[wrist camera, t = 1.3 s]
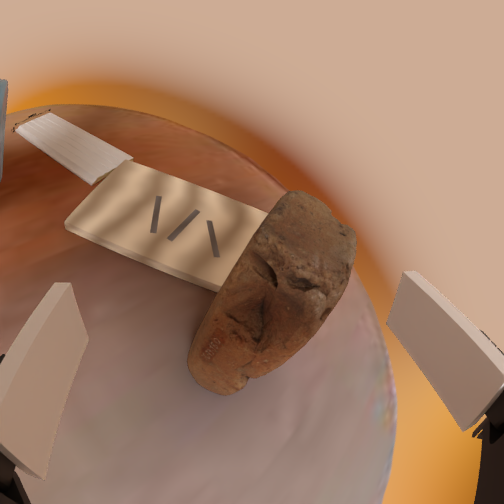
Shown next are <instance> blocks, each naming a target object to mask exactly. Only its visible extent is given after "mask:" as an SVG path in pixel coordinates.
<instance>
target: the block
mask: <svg viewBox="0 0 504 504" xmlns="http://www.w3.org/2000/svg"><path fill="white" fill-rule="evenodd" d="M356 244H357V241H356V234H355V231H354V230H353V229H352V228H351V227H349V226H348V225H343V224H341V223H340V222H339V221H338V220H337V219H336V218H334V217H333V216H332V215H331V210H330V209H329V208H328V207H327V206H326V205H325V204H324V203H323V202H321V201H320V200H318V199H317V198H315V197H313V196H311V195H309V194H307V193H305V192H303V191H289V192H287V193H286V194H285V195H284V196H282V197H281V198H280V200H279V201H278V202H277V203H276V205H275V206H274V208H273V209H272V210H271V211H270V212H269V214H268V215H267V216H266V217H265V219H264V220H263V222H262V223H261V224H260V226H259V228H258V229H257V230H256V232H255V233H254V234H253V236H252V238H251V239H250V241H249V243H248V244H247V246H246V248H245V249H244V251H243V252H242V254H241V256H240V257H239V259H238V261H237V262H236V264H235V265H234V267H233V268H232V270H231V272H230V273H229V275H228V277H227V278H226V280H225V282H224V283H223V285H222V286H221V288H220V290H219V292H218V293H217V295H216V297H215V299H214V301H213V302H212V304H211V306H210V308H209V310H208V312H207V314H206V315H205V317H204V319H203V321H202V323H201V325H200V327H199V329H198V331H197V333H196V336H195V338H194V340H193V342H192V345H191V347H190V350H189V353H188V359H187V363H188V368H189V370H190V372H191V374H192V376H193V378H194V379H195V380H196V382H197V383H198V384H200V385H201V386H203V387H204V388H206V389H207V390H209V391H212V392H214V393H217V394H220V395H225V396H226V395H231V394H233V393H235V392H237V391H239V390H240V389H243V387H244V386H245V385H246V383H247V381H248V379H249V377H251V378H258V377H260V376H263V375H266V374H267V373H269V372H271V371H272V370H274V369H276V368H278V367H279V366H281V365H282V364H284V363H285V362H286V361H287V360H288V359H289V358H291V357H292V356H293V355H294V354H295V353H296V352H298V351H299V350H300V349H301V348H302V347H303V346H305V345H306V343H307V342H308V341H309V340H310V339H311V338H312V337H313V336H314V335H315V334H316V332H317V331H318V330H319V328H320V327H321V326H322V324H323V323H324V321H325V320H326V318H327V316H328V315H329V314H330V313H331V311H332V310H333V309H334V307H335V306H336V304H337V303H338V301H339V300H340V298H341V296H342V295H343V293H344V291H345V289H346V286H347V284H348V281H349V277H350V274H351V269H352V266H353V264H354V259H355V256H356Z"/></svg>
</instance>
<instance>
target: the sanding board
mask: <svg viewBox="0 0 504 504" xmlns="http://www.w3.org/2000/svg"><path fill="white" fill-rule="evenodd" d="M267 215H268V213H266V212H263V211H261V210H259V209H256V208H254V207H251V206H249V205H246V204H244V203H241V202H239V201H236V200H234V199H231V198H229V197H226V196H224V195H221V194H219V193H216V192H213V191H211V190H208V189H206V188H203V187H200V186H198V185H195V184H193V183H190V182H187V181H185V180H182V179H179V178H177V177H174V176H171V175H168V174H166V173H163V172H160V171H157V170H155V169H152V168H149V167H146V166H143V165H141V164H138V163H135V162H132V161H129V160H126V159H125V160H124V161H123V162H122V163H121V164H120V165H119V166H118V167H116V168H115V169H114V170H113V171H112V172H111V173H110V174H109V175H108V176H107V177H106V178H105V179H104V180H103V181H102V182H101V183H100V184H99V185H98V186H97V187H96V188H95V189H94V190H93V191H92V192H91V193H90V194H89V195H88V196H87V197H86V198H85V199H84V200H83V201H82V203H81V204H80V205H79V206H78V207H77V208H76V209H75V210H74V211H73V212H72V213H71V215H70V216H69V217H68V218H67V219H66V220H65V221H64V222H65V229H66V230H68V231H70V232H72V233H75V234H77V235H79V236H81V237H83V238H86V239H88V240H90V241H92V242H94V243H97V244H99V245H101V246H103V247H106V248H108V249H110V250H113V251H115V252H117V253H120V254H122V255H124V256H127V257H129V258H131V259H134V260H136V261H138V262H141V263H143V264H146V265H148V266H150V267H153V268H155V269H158V270H160V271H163V272H165V273H168V274H170V275H173V276H175V277H178V278H180V279H183V280H185V281H188V282H191V283H193V284H196V285H198V286H201V287H204V288H206V289H209V290H211V291H214V292H217V293H218V292H219V290H220V288H221V286H222V285H223V283H224V282H225V280H226V278H227V277H228V275H229V273H230V272H231V270H232V268H233V267H234V265H235V264H236V262H237V261H238V259H239V257H240V256H241V254H242V252H243V251H244V249H245V248H246V246H247V244H248V243H249V241H250V239H251V238H252V236H253V234H254V233H255V232H256V230H257V229H258V228H259V226H260V224H261V223H262V222H263V220H264V219H265V217H266V216H267Z"/></svg>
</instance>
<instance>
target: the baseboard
mask: <svg viewBox="0 0 504 504" xmlns="http://www.w3.org/2000/svg"><path fill="white" fill-rule="evenodd" d="M48 111H50V110H48ZM43 113H44V112H43ZM35 115H36V113H35ZM38 115H39V114H38ZM32 116H33V117H34V115H31V116H29V118H30V117H31V118H32ZM26 120H27V119H26ZM24 121H25V120H24ZM15 125H16V124H15ZM13 130H14V128H13ZM14 131H16V132H17V133H18V134H20V135H21V136H22V137H24V138H25V139H26V140H28V141H29V142H30V143H32V144H33V145H35V146H36V147H37V148H39V149H40V150H42V151H43V152H44V153H46V154H47V155H48V156H50V157H51V158H53V159H54V160H55V161H57V162H58V163H60V164H61V165H63V166H64V167H65V168H67V169H68V170H70V171H71V172H73V173H74V174H75V175H77V176H78V177H80V178H81V179H83V180H84V181H86V182H87V183H88V184H90V185H91V186H92V185H94V184H95V183H97V182H98V181H100V180H102V179H103V178H105V177H107V176H108V175H109V174H110V173H111V172H112V171H113V170H114V169H115V168H116V167H118V166H119V165H120V164H121V163H122V162H123V161H124V160H125V159H126V160H129V161H132V162H133V159H134V158H133V157H131V156H130V155H128V154H126V153H124V152H122V151H121V150H119V149H117V148H115V147H113V146H112V145H110V144H108V143H106V142H104V141H103V140H101V139H99V138H97V137H95V136H93V135H92V134H90V133H88V132H86V131H84V130H82V129H80V128H79V127H77V126H75V125H73V124H71V123H69V122H67V121H65V120H64V119H62V118H60V117H58V116H56V115H54V114H52V113H48V114H45V115H43V116H41V117H39V118H36V119H34V120H31V121H30V122H27V123H25V124H23V125H20V126H19V128H18V129H17V130H14ZM14 131H13V132H14Z"/></svg>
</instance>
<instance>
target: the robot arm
mask: <svg viewBox="0 0 504 504" xmlns="http://www.w3.org/2000/svg"><path fill="white" fill-rule="evenodd" d="M7 97H8V81H7V80H1V79H0V182H1V179H2V170H3V153H4V135H5V121H6V109H7ZM386 324H387V325H388V327H389V328H390V329H391V330H392V332H393V333H394V334H395V336H396V337H397V338H398V340H399V341H400V342H401V344H402V345H403V346H404V348H405V349H406V350H407V352H408V353H409V355H410V356H411V357H412V359H413V360H414V361H415V363H416V364H417V365H418V367H419V368H420V370H421V371H422V372H423V374H424V375H425V377H426V378H427V379H428V381H429V382H430V384H431V385H432V387H433V388H434V389H435V391H436V392H437V394H438V395H439V397H440V398H441V400H442V401H443V403H444V404H445V405H446V407H447V409H448V410H449V412H450V413H451V415H452V416H453V418H454V419H455V421H456V422H457V424H458V425H459V427H460V428H461V430H462V431H465V430H467V429H469V428H470V427H472V426H473V425H475V424H476V423H477V422H478V421H479V419H480V418H481V417H482V416H483V415H484V414H486V416H487V418H486V419H485V420H484V421H483V422H482V423H481V424H480V425H479V426H478V427H477V428H476V430H475V431H474V432H473V434H472V437H475V436H476V435H477V434H478V433H479V432H480V431H481V430H482V429H483V431H482V432H481V433H480V434H479V435H478V437H477V438H479V439H482V451H481V461H480V470H479V478H478V485H477V491H476V496H475V501H474V504H504V354H503V353H502V351H501V350H500V349H499V348H496V345H495V344H494V343H493V342H492V341H490V339H489V338H488V337H487V336H486V334H484V332H483V331H481V330H479V329H478V328H477V327H476V326H475V325H474V324H473V323H472V322H471V321H470V320H469V319H468V318H467V317H466V316H465V315H464V314H463V313H462V312H461V311H460V310H459V309H458V308H457V307H455V305H453V304H452V303H451V302H450V301H449V300H448V299H447V298H446V297H445V296H444V295H443V294H442V293H441V292H439V291H438V290H437V289H436V288H435V287H434V286H433V285H432V284H430V283H429V282H428V281H427V280H426V279H425V278H424V277H422V276H421V275H420V274H419V273H418V272H417V271H405V272H403V274H402V277H401V280H400V283H399V287H398V290H397V293H396V296H395V299H394V302H393V305H392V308H391V311H390V314H389V317H388V320H387V322H386ZM88 341H89V337H88V335H87V332H86V329H85V326H84V323H83V321H82V318H81V315H80V312H79V308H78V305H77V302H76V299H75V295H74V292H73V289H72V285H71V283H58V282H55V283H54V284H53V286H52V287H51V288H50V289H49V291H48V292H47V294H46V295H45V296H44V298H43V299H42V300H41V302H40V303H39V305H38V306H37V307H36V309H35V310H34V312H33V313H32V314H31V316H30V317H29V319H28V320H27V322H26V323H25V325H24V326H23V328H22V329H21V331H20V332H19V334H18V336H17V337H16V339H15V340H14V342H13V344H12V345H11V347H10V349H9V350H8V352H7V354H6V355H5V354H2V355H1V356H0V504H31V503H30V501H29V498H28V496H27V494H26V492H25V490H24V488H23V485H22V483H21V481H20V478H19V477H18V475H17V473H16V472H15V471H14V469H15V466H17V467H18V468H20V469H21V470H22V471H23V472H25V473H26V474H28V475H31V476H34V477H36V478H39V479H42V480H44V481H45V478H46V473H47V469H48V464H49V460H50V456H51V452H52V448H53V444H54V440H55V436H56V433H57V429H58V426H59V422H60V419H61V416H62V412H63V409H64V406H65V403H66V400H67V397H68V394H69V391H70V388H71V385H72V383H73V380H74V377H75V374H76V372H77V369H78V366H79V364H80V361H81V358H82V356H83V353H84V351H85V348H86V346H87V344H88Z"/></svg>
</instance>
